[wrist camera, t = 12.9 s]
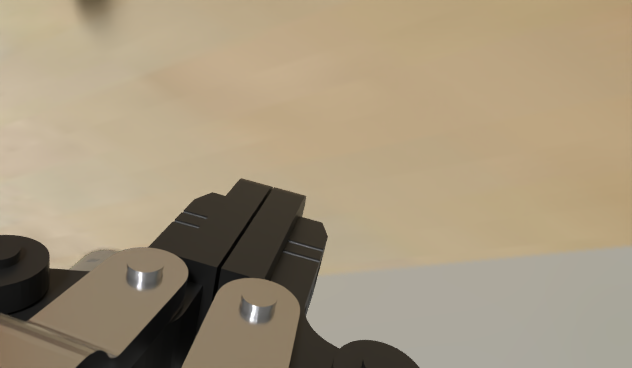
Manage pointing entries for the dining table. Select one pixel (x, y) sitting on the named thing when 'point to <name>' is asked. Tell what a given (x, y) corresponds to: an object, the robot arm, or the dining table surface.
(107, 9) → the dining table surface
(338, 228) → the dining table surface
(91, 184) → the dining table surface
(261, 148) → the dining table surface
